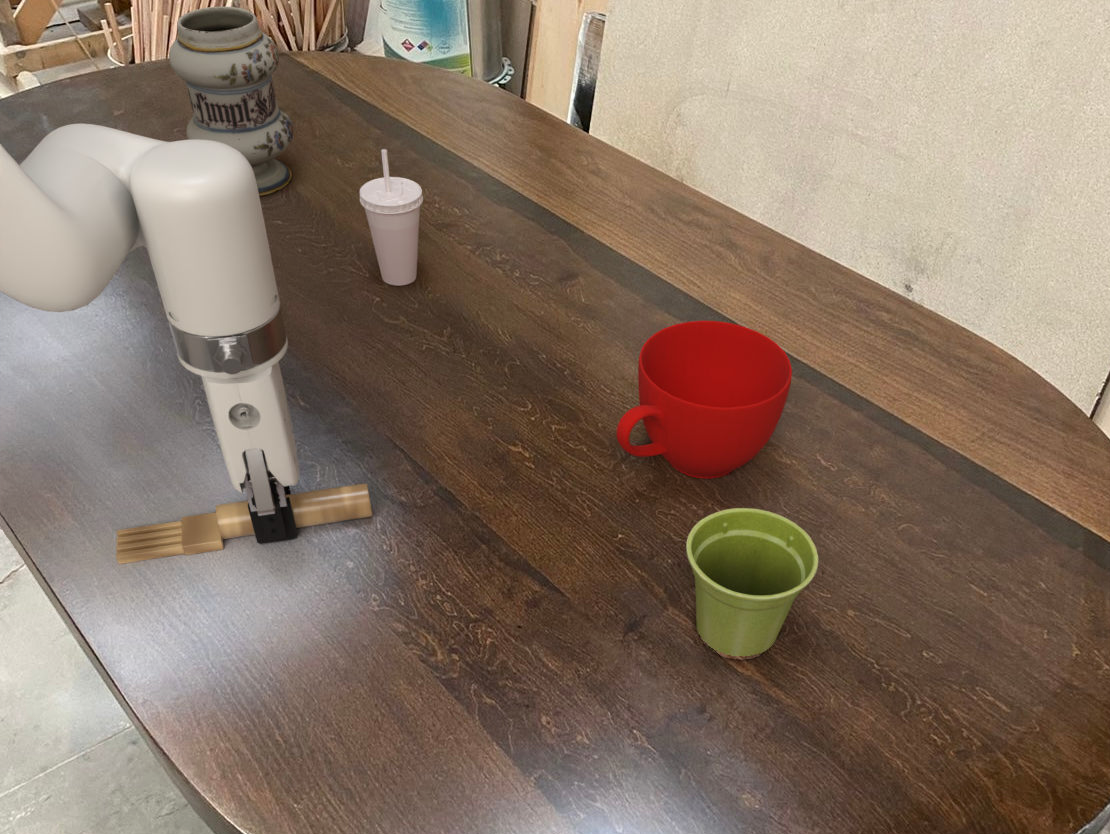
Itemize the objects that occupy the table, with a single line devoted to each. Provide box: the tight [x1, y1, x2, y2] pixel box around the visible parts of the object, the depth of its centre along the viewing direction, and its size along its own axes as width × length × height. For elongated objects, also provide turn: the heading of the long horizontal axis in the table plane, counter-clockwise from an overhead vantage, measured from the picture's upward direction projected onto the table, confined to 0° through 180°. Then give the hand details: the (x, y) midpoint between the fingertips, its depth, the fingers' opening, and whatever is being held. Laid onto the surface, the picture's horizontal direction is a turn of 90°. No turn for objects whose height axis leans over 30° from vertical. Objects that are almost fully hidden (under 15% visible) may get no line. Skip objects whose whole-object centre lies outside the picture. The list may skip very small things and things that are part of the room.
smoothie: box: [359, 148, 424, 287], centre depth 110 cm, size 6×6×14 cm
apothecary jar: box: [168, 6, 294, 197], centre depth 123 cm, size 12×12×18 cm
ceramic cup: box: [616, 320, 793, 480], centre depth 92 cm, size 13×17×10 cm
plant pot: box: [685, 507, 819, 657], centre depth 79 cm, size 9×9×9 cm
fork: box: [115, 482, 373, 565], centre depth 86 cm, size 20×4×3 cm, turn 106°
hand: (275, 523), depth 88 cm, fingers closed on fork, 2 cm apart
